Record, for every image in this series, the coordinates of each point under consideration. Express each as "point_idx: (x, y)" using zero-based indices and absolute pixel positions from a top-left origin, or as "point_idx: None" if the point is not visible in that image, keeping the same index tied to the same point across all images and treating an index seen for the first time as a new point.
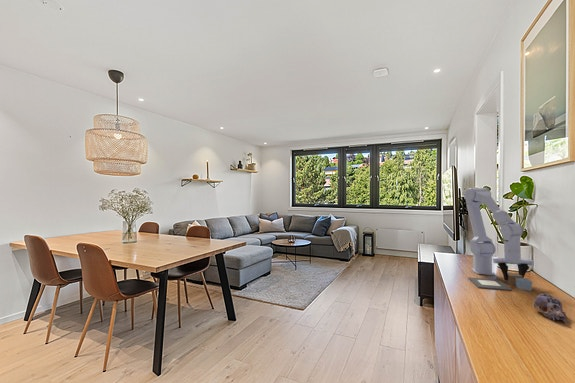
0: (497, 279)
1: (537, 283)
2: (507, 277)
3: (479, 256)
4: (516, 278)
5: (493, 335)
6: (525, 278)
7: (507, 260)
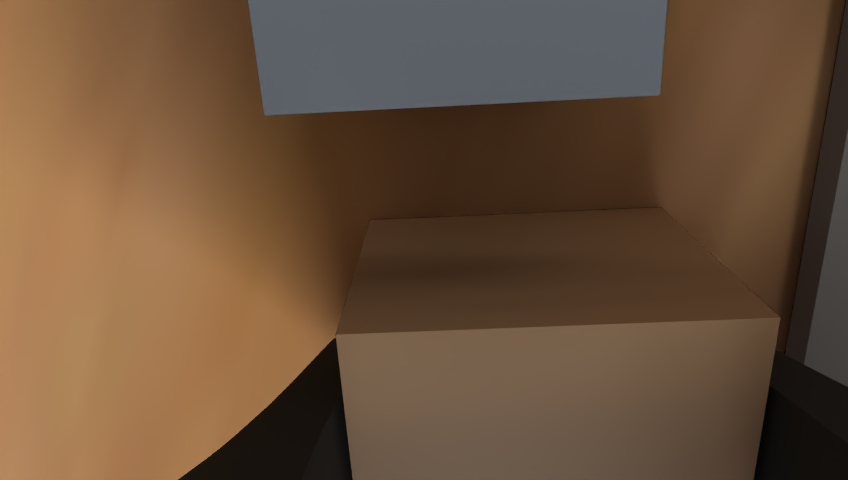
0: None
1: (40, 460)
2: None
3: None
4: (663, 2)
5: None
6: (324, 70)
7: None
